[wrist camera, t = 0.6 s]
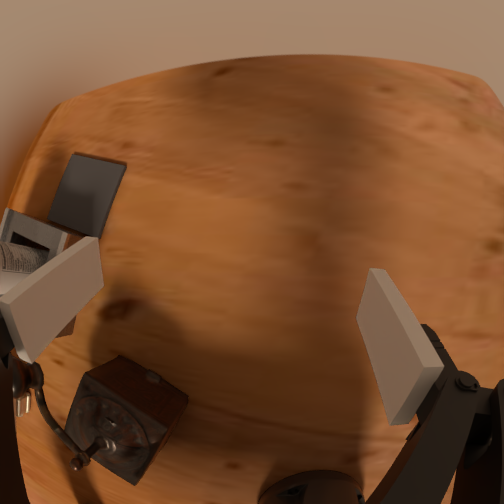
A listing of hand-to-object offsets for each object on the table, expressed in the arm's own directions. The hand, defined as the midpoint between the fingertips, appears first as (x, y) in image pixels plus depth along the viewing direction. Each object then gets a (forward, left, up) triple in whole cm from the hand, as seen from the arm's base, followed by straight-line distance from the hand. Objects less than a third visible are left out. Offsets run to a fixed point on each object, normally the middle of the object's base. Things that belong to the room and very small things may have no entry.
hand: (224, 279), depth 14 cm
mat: (+4, +25, -21) cm, 32 cm away
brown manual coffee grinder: (-19, +11, -21) cm, 30 cm away
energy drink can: (-8, +27, -21) cm, 35 cm away
